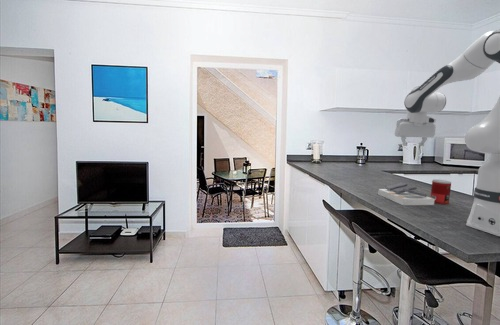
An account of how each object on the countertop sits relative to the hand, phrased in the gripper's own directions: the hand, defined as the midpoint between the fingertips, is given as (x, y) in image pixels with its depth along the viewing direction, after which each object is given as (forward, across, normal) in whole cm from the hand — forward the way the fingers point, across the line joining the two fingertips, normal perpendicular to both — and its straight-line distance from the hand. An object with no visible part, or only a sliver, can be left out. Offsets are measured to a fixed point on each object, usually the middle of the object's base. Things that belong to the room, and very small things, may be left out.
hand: (413, 145), depth 150 cm
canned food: (+28, +10, -10) cm, 31 cm away
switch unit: (+28, -4, -4) cm, 28 cm away
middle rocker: (+23, -4, -4) cm, 24 cm away
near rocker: (+23, -4, -11) cm, 26 cm away
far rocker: (+23, -4, +3) cm, 24 cm away
